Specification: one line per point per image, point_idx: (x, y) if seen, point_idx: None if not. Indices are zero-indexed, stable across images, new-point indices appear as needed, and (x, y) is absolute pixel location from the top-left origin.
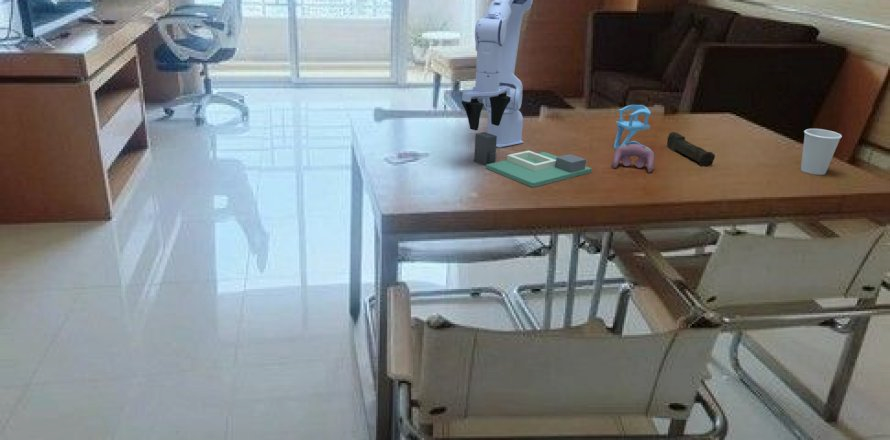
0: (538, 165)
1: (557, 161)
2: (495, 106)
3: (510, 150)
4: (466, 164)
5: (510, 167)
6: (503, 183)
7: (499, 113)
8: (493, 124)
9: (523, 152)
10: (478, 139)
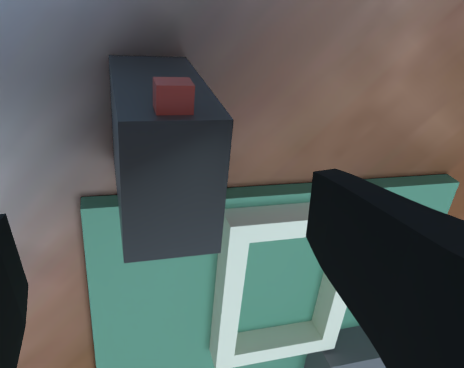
0: (233, 364)
1: (322, 360)
2: (437, 332)
3: (427, 22)
4: (13, 86)
5: (160, 285)
6: (23, 365)
7: (371, 329)
8: (312, 192)
9: None
10: (117, 145)
